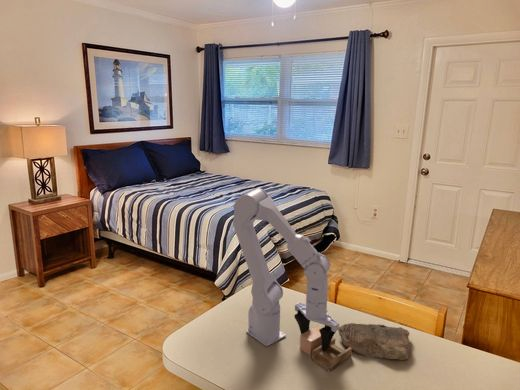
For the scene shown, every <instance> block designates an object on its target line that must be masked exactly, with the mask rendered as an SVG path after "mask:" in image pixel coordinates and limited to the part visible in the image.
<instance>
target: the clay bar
mask: <svg viewBox="0 0 520 390" xmlns="http://www.w3.org/2000/svg"><path fill="white" fill-rule="evenodd" d="M321 328H322V327H320V326H319V325H316V326H314V327H313V328H311V329H310V328H309V331H307V332H305V333H303V334H301V333H300V337H299V342H300V343H299V349H300V350H302V351H303V352H305V353H306V354H308V355H309V356H312V350H314V349H316V348H317V347H319V346H321V345H322V339H321V334H320V331H319V330H320V329H321Z"/></svg>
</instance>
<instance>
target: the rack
mask: <svg viewBox="0 0 520 390" xmlns="http://www.w3.org/2000/svg"><path fill="white" fill-rule="evenodd" d="M352 351H353V350H352V348H351V347H349V348H348V347H347V348H346V349H343V348H342V347H339V346H338V345H337V344H336V338H335V337H333V338H332V340H331V342H330V345H329V348H328V349H327V350H325V351H323V349H322V345H321V346H319V347H317V348H316V349H314V350H312V355H311V360H312V361H313V362H315V363H317V364H318V365H319V366H321V367H322V368H324V369H326V370H327V371H328V372H331V371H333V370H335V369H336V368H337V367H339V366H341V364H343V363H345V362H346V361H348V360H349V359H350V358H352Z"/></svg>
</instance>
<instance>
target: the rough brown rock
mask: <svg viewBox="0 0 520 390" xmlns="http://www.w3.org/2000/svg"><path fill="white" fill-rule="evenodd" d="M337 331H338V334H339V337H340V340H341V342H342V344H343V345H344V346H345V347H347V349H348V348H349V347H351V348H352V351H354V352H355V353H357V354H360V355H362V356H367V357H370V358H371V357H373V358H374V357H376V358H379V359H383V358H384V359H388V360H399V361H405V360H407V359H408V358H409V357H410V345H411V344H410V339H409V336H410V331H409V330H407V329H405V328H403V327H395V326H394V327H393V326H392V327H391V326H387V325H385V324H379V323H378V324H374V323H373V324H372V323H367V324H366V323H355V322H354V323H353V322H351V323H345V324H342V325H341V326H339V330H337Z"/></svg>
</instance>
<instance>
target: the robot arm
mask: <svg viewBox="0 0 520 390" xmlns="http://www.w3.org/2000/svg"><path fill="white" fill-rule="evenodd" d="M232 207H233V210H234V212H233V220H232V225H233V228H234V232H235V234H236V237H237V240H238V242H239V245H240V248H241V249H240V250H241V251H242V254H243V257H244V260H245V262H246V266H247V268H248V271H249V275H250V277H251V280H252V286H251V291H250V292H251V293H250V294H251V296H252V301H251V305H250V307H249V309H248V317H247V318H248V325H247V327H248V329H246V331H245V332H246V334H248V335H250V336H251V337H252V338H254V339H255V340H257V341H258V342H259V343H261V344H262V345H263V346H265V347H268V346H270V345H272V344H274V343H277V341H279V340H281V339H283V338H285V337H287V335H286V333H284V332H283V331H281V329H280V328H281V306H280V305H281V304H280V300H281V299H282V298H283V295H284V289H283V287H282V286H281V284H279V282H278V281H277V278H276V277H275V276H274V275H273V274H271V273H270V269H269V266H268V264H267V261H266V259H265V255H264V253H263V250H262V246H261V244H260V241H259V237H258V235H257V232H256V229H255V226H254V222H255V221H256V220H257V221H265V222H268V223H269V224H270V226H271V227H273V229H274V230H276V231H277V233H278V234H279V235H280V236H281V237H282V238H283V239H284V240H285V242H286V244H287V247H286V249H287V251H289V253H290V255H292V256H293V258H295V260H296V261H297V262H298V263H299V264H300V266H301V267H302V268H303V269H304V270H303V274H304V276H305V278H306V288H305V289H306V291H305V292H306V293H305V294H306V296H305V304H304V303H302V302H297V303H295V304H294V311H295V312H297V313H296V314H294V319H295V321H296V322H297V325H298V328H299V331H300V335H301V334H303V333H305V332H307V331H309V330H310V325H311V324H310V323H311V322H314V323H316V324H321V325H324V326H323V327H320V328H321V329H320V330H319V331H320V334H321V339H322V349H323V351H325V350H327V349H328V348H329V345H330V342H331V340H332V338H334V335H335V334H336V332H337V331H338V330H339V327H340V323H339V322H338V321H336V319H334V318H333V317H332V316H331V315H330V314H329V313H328V311H329V310H328V309H327V308H328V290H329V289H328V287H329V285H328V281H329V280H328V273H329V271H330V269H331V262H330V260H329V258H328V257H327V256H326V255H325V254H322V253H321V252H318V251H317V249H316V248H315V247H314V246H313V245H312V244H311V243H310V242H311V239H310V238H309V237H306V236H305V235H304V234H299V233H297V232H296V231H295V229H294V228H293V227H292V226H291V224H290V223H289V222H288V220H287V219H286V218H285V216H284V215H283V214H282V212H281V211H280V209H278V206H276V203H275V202H274V199H273V198H272V197H270V196H269V195H268V193H267V191H265V190H264V189H263V188H259V187H256V188H253V189H252V190H251V191H248V192H246V193H245V194H242V195H240V196H238V198H237V199H236V201H235V202H234V204H233V206H232Z"/></svg>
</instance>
